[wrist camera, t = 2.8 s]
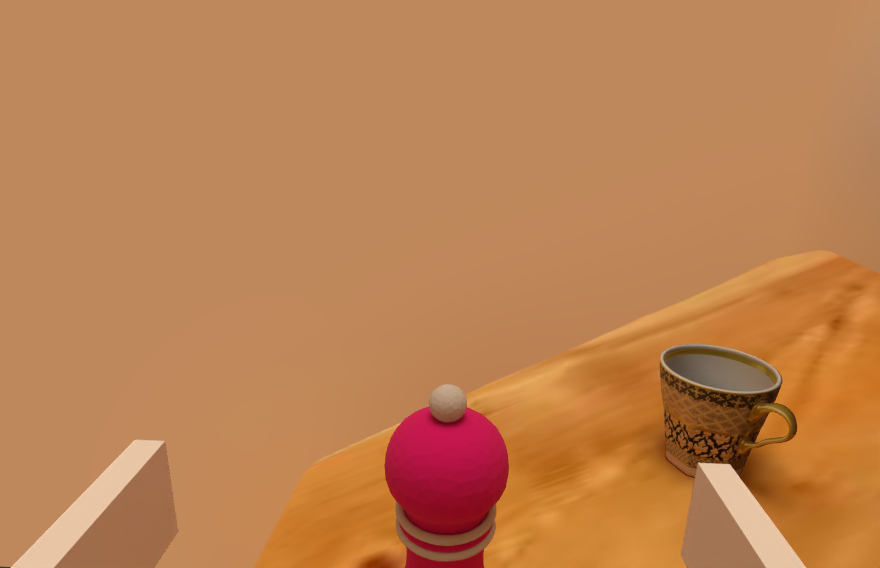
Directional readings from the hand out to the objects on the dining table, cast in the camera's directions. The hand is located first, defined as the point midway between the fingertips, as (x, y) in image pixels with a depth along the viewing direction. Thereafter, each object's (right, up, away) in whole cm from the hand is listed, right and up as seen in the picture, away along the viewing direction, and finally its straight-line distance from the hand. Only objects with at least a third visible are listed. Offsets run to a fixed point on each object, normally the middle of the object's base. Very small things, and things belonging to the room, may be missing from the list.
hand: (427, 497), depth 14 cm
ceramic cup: (+26, -12, +39) cm, 49 cm away
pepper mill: (0, -19, +19) cm, 26 cm away
